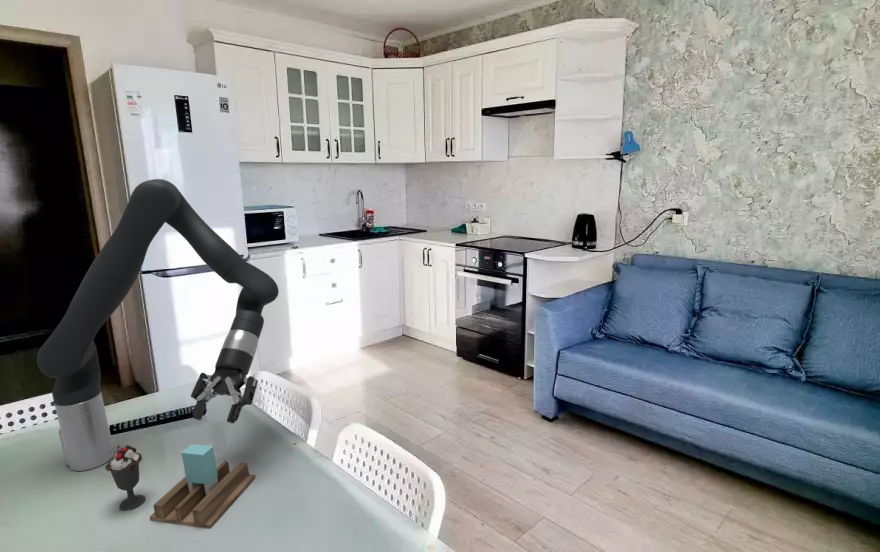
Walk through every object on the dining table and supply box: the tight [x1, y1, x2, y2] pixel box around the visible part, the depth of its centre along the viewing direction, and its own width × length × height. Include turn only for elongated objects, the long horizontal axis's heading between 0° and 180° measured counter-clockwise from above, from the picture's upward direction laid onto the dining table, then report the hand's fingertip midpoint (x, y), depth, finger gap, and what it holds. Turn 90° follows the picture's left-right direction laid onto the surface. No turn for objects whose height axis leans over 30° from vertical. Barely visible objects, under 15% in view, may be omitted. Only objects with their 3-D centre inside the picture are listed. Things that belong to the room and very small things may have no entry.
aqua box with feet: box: [181, 444, 218, 495], centre depth 105 cm, size 5×3×11 cm, turn 78°
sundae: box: [104, 444, 147, 512], centre depth 104 cm, size 7×7×15 cm
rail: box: [149, 460, 256, 529], centre depth 106 cm, size 14×16×4 cm
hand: (213, 420), depth 109 cm, fingers open, 8 cm apart
